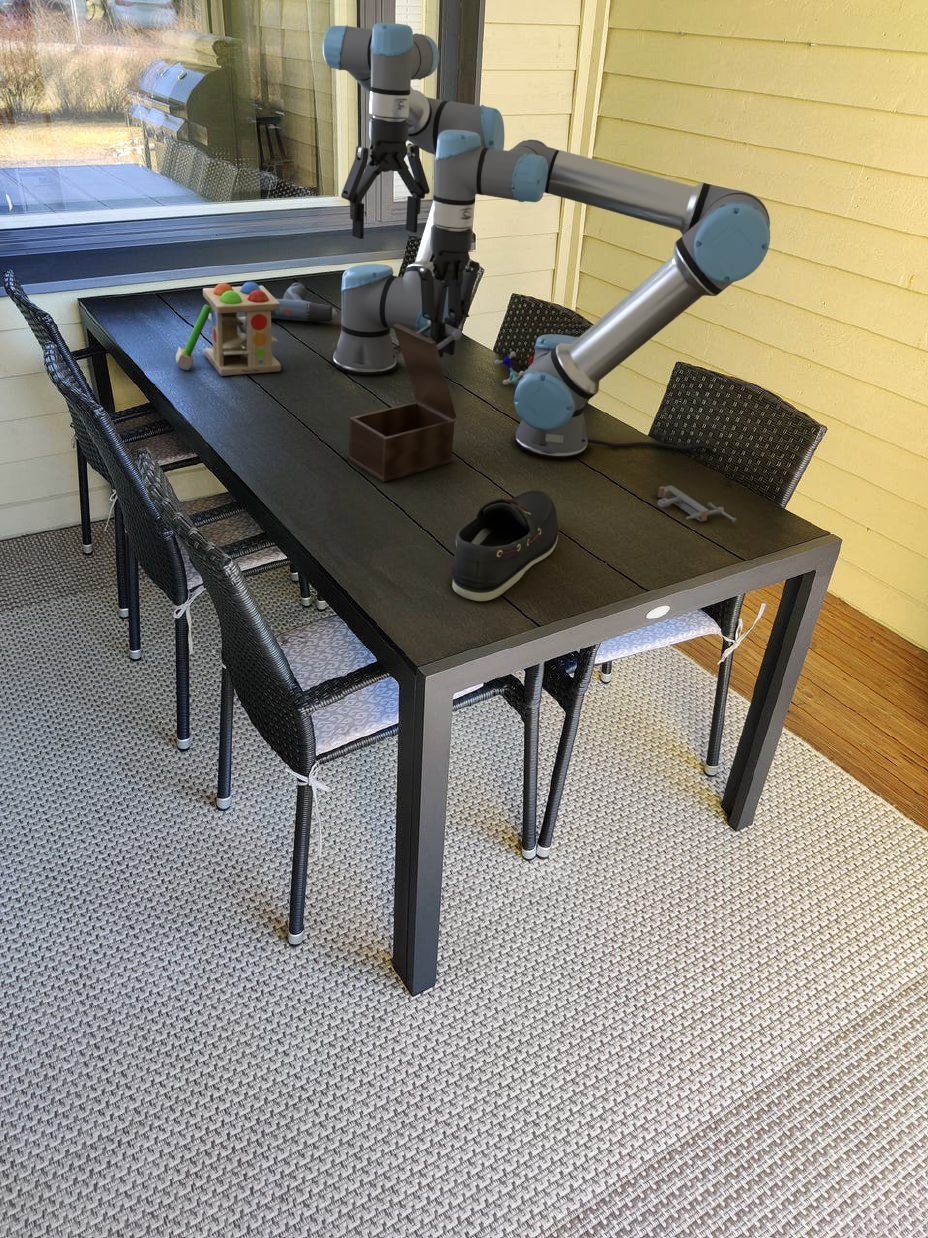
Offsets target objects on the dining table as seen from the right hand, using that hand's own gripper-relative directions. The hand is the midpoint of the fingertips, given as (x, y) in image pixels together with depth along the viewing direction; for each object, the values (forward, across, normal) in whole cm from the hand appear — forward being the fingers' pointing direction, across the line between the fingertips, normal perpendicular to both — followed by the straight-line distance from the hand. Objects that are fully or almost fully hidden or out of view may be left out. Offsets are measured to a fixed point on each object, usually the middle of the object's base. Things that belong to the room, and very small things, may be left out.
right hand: (442, 353), depth 189 cm
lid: (+3, -4, 0) cm, 5 cm away
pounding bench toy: (+21, -13, +62) cm, 67 cm away
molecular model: (+20, +39, +18) cm, 48 cm away
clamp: (+20, +25, -46) cm, 57 cm away
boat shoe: (+20, -16, -39) cm, 47 cm away
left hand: (-16, +5, +26) cm, 31 cm away
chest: (+20, -9, 0) cm, 22 cm away
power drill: (+20, +25, +87) cm, 93 cm away
